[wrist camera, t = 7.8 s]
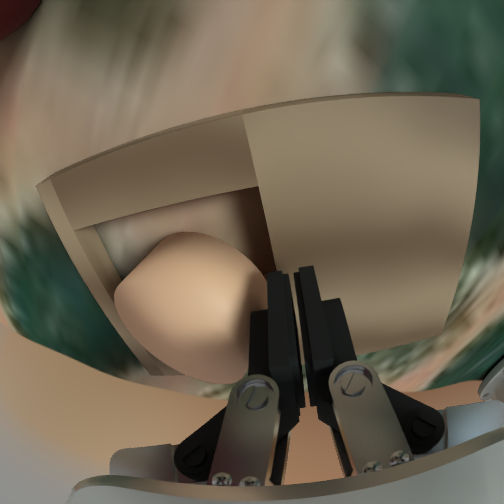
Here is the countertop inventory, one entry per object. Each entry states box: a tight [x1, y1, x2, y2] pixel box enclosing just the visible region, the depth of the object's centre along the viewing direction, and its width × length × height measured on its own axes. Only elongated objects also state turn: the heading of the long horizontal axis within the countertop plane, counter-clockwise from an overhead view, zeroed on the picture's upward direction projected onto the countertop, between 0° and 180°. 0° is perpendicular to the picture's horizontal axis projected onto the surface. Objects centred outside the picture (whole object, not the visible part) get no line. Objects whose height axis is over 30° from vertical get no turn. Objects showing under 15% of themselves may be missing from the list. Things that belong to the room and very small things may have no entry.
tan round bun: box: [114, 232, 268, 384], centre depth 12 cm, size 6×6×3 cm
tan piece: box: [36, 92, 480, 375], centre depth 13 cm, size 13×18×2 cm
